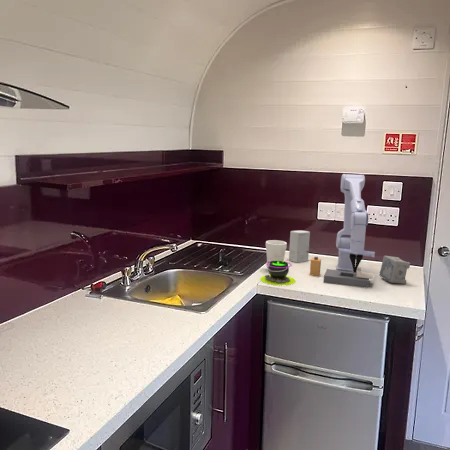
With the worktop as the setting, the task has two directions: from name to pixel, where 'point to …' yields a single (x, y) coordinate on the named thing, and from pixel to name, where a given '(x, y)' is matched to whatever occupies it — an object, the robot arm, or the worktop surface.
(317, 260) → the orange bottle
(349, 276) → the socket
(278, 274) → the toy cauldron
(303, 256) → the skincare box
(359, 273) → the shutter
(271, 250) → the foam cup
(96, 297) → the worktop surface
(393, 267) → the grey rough block
